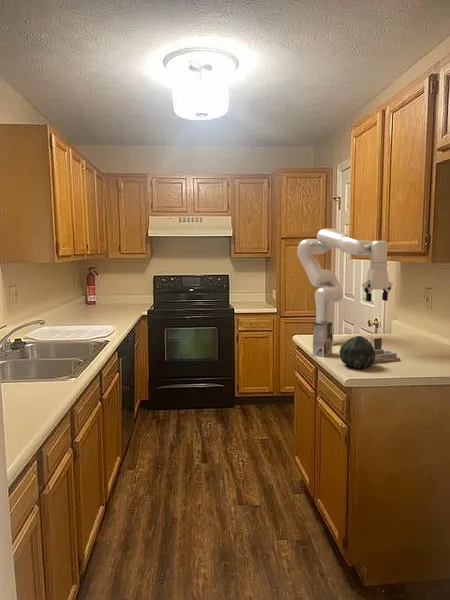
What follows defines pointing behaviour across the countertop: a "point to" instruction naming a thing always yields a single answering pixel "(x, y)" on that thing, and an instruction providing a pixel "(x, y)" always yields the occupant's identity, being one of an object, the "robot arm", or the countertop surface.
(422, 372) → the countertop surface
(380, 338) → the wooden block
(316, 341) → the coffee box
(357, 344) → the squash
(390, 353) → the rail board
